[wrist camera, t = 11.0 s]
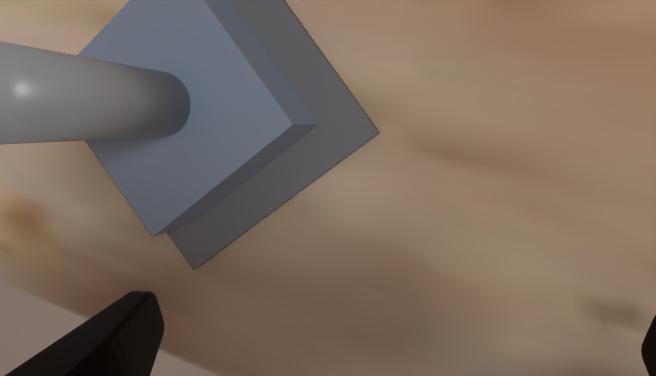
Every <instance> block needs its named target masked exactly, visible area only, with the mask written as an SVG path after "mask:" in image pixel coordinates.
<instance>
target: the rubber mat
mask: <svg viewBox="0 0 656 376" xmlns="http://www.w3.org/2000/svg"><path fill="white" fill-rule="evenodd" d="M231 2H232V3H233V4H234V6H235V7H236V9H237V10H238V11H239V13H240V14H241V16H242V17H243V18H244V20H245V21H246V23H247V24H248V25H249V27H250V28H251V30H252V31H253V32H254V34H255V35H256V36H257V38H258V39H259V41H260V42H261V43H262V45H263V46H264V48H265V49H266V50H267V52H268V53H269V55H270V56H271V57H272V59H273V60H274V62H275V63H276V64H277V66H278V67H279V69H280V70H281V71H282V73H283V74H284V76H285V77H286V78H287V80H288V81H289V83H290V84H291V85H292V87H293V88H294V89H295V91H296V92H297V94H298V95H299V96H300V98H301V99H302V101H303V102H304V103H305V105H306V106H307V108H308V109H309V110H310V112H311V113H312V115H313V116H314V117H315V119H316V120H317V122H318V123H319V125H318V126H316V127H315V128H314V129H313V130H311V131H310V132H309V133H308V134H306V135H305V136H304V137H302V138H301V139H300V140H299V141H297V142H296V143H295V144H294V145H292V146H291V147H290V148H288V149H287V150H286V151H285V152H283V153H282V154H281V155H279V156H278V157H277V158H276V159H274V160H273V161H272V162H271V163H269V164H268V165H267V166H265V167H264V168H263V169H262V170H260V171H259V172H258V173H257V174H255V175H254V176H253V177H251V178H250V179H249V180H248V181H246V182H245V183H244V184H243V185H241V186H240V187H239V188H237V189H236V190H235V191H234V192H232V193H231V194H230V195H229V196H227V197H226V198H225V199H223V200H222V201H221V202H220V203H218V204H217V205H216V206H215V207H213V208H212V209H211V210H209V211H208V212H207V213H206V214H204V215H203V216H202V217H200V218H199V219H197V220H194V221H192V222H189V223H187V224H184V225H182V226H179V227H177V228H174V229H172V230H169V231H167V233H168V235H169V236H170V237H171V239H172V240H173V242H174V243H175V245H176V246H177V247H178V249H179V250H180V252H181V253H182V255H183V256H184V257H185V259H186V260H187V262H188V263H189V265H190V266H191V267H192V269H193V270H194V269H196V268H198V267H199V266H201V265H202V264H203V263H205V262H206V261H207V260H209V259H210V258H211V257H213V256H214V255H215V254H217V253H218V252H219V251H221V250H222V249H223V248H225V247H226V246H228V245H229V244H230V243H232V242H233V241H234V240H236V239H237V238H238V237H240V236H241V235H242V234H244V233H245V232H246V231H248V230H249V229H251V228H252V227H253V226H255V225H256V224H257V223H259V222H260V221H261V220H263V219H264V218H265V217H267V216H268V215H269V214H271V213H272V212H273V211H275V210H276V209H278V208H279V207H280V206H282V205H283V204H284V203H286V202H287V201H288V200H290V199H291V198H292V197H294V196H295V195H296V194H298V193H299V192H301V191H302V190H303V189H305V188H306V187H307V186H309V185H310V184H311V183H313V182H314V181H315V180H317V179H318V178H319V177H321V176H322V175H324V174H325V173H326V172H328V171H329V170H330V169H332V168H333V167H334V166H336V165H337V164H338V163H340V162H341V161H342V160H344V159H345V158H346V157H348V156H349V155H351V154H352V153H353V152H355V151H356V150H357V149H359V148H360V147H361V146H363V145H364V144H365V143H367V142H368V141H369V140H371V139H372V138H374V137H375V136H376V135H378V134H379V133H380V132H379V131H378V129H377V128H376V126H375V125H374V124H373V122H372V121H371V119H370V118H369V117H368V115H367V114H366V112H365V111H364V110H363V108H362V107H361V106H360V104H359V103H358V101H357V100H356V99H355V97H354V96H353V94H352V93H351V92H350V90H349V89H348V87H347V86H346V85H345V83H344V82H343V81H342V79H341V78H340V76H339V75H338V74H337V72H336V71H335V69H334V68H333V67H332V65H331V64H330V63H329V61H328V60H327V58H326V57H325V56H324V54H323V53H322V51H321V50H320V49H319V47H318V46H317V44H316V43H315V42H314V40H313V39H312V38H311V36H310V35H309V33H308V32H307V31H306V29H305V28H304V26H303V25H302V24H301V22H300V21H299V19H298V18H297V17H296V15H295V14H294V13H293V11H292V10H291V8H290V7H289V6H288V4H287V3H286V1H285V0H231Z"/></svg>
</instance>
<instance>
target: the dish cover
mask: <svg viewBox="0 0 656 376" xmlns="http://www.w3.org/2000/svg"><path fill="white" fill-rule="evenodd" d="M318 125H319V123H318V122H317V120H316V119H315V117H314V116H313V115H312V113H311V112H310V110H309V109H308V108H307V106H306V105H305V103H304V102H303V101H302V99H301V98H300V96H299V95H298V94H297V92H296V91H295V89H294V88H293V87H292V85H291V84H290V83H289V81H288V80H287V78H286V77H285V76H284V74H283V73H282V71H281V70H280V69H279V67H278V66H277V64H276V63H275V62H274V60H273V59H272V57H271V56H270V55H269V53H268V52H267V50H266V49H265V48H264V46H263V45H262V43H261V42H260V41H259V39H258V38H257V36H256V35H255V34H254V32H253V31H252V30H251V28H250V27H249V25H248V24H247V23H246V21H245V20H244V18H243V17H242V16H241V14H240V13H239V11H238V10H237V9H236V7H235V6H234V4H233V3H232V2H231V0H130V1H129V2H128V3H127V4H126V5H125V6H124V7H123V8H122V9H121V10H120V11H119V12H118V13H117V14H116V16H115V17H114V18H113V19H112V20H111V21H110V22H109V23H108V24H107V25H106V26H105V27H104V28H103V29H102V30H101V31H100V32H99V33H98V34H97V36H96V37H95V38H94V39H93V40H92V41H91V42H90V43H89V44H88V45H87V46H86V47H85V48H84V49H83V50H82V51H81V52H80V53H79V54H78V56H77V55H71V54H66V53H60V52H55V51H49V50H44V49H39V48H33V47H28V46H22V45H17V44H12V43H6V42H1V41H0V144H20V143H41V142H61V141H82V140H85V141H86V142H87V144H88V145H89V147H90V148H91V150H92V151H93V152H94V154H95V155H96V157H97V158H98V160H99V161H100V162H101V164H102V165H103V167H104V168H105V170H106V171H107V172H108V174H109V175H110V177H111V178H112V180H113V181H114V183H115V184H116V185H117V187H118V188H119V190H120V191H121V193H122V194H123V195H124V197H125V198H126V200H127V201H128V203H129V204H130V205H131V207H132V208H133V210H134V211H135V213H136V214H137V216H138V217H139V218H140V220H141V221H142V223H143V224H144V226H145V227H146V228H147V230H148V231H149V233H150V234H151V236H152V237H154V236H156V235H159V234H162V233H164V232H167V231H169V230H172V229H174V228H177V227H179V226H182V225H184V224H187V223H189V222H192V221H194V220H197V219H199V218H200V217H202V216H203V215H204V214H206V213H207V212H208V211H209V210H211V209H212V208H213V207H215V206H216V205H217V204H218V203H220V202H221V201H222V200H223V199H225V198H226V197H227V196H229V195H230V194H231V193H232V192H234V191H235V190H236V189H237V188H239V187H240V186H241V185H243V184H244V183H245V182H246V181H248V180H249V179H250V178H251V177H253V176H254V175H255V174H257V173H258V172H259V171H260V170H262V169H263V168H264V167H265V166H267V165H268V164H269V163H271V162H272V161H273V160H274V159H276V158H277V157H278V156H279V155H281V154H282V153H283V152H285V151H286V150H287V149H288V148H290V147H291V146H292V145H294V144H295V143H296V142H297V141H299V140H300V139H301V138H302V137H304V136H305V135H306V134H308V133H309V132H310V131H311V130H313V129H314V128H315V127H316V126H318Z"/></svg>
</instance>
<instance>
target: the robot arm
mask: <svg viewBox="0 0 656 376" xmlns="http://www.w3.org/2000/svg"><path fill="white" fill-rule="evenodd" d="M163 333H164V321H163V317H162V314H161V311H160V307H159V304H158V300H157V297H156V295H155V294H154V293H153V292H150V291H132V292H130V293H128V294H126V295H125V296H123V297H122V298H120V299H119V300H117V301H116V302H114V303H113V304H111V305H110V306H108V307H107V308H105V309H104V310H102V311H101V312H99V313H98V314H96V315H95V316H93V317H92V318H90V319H89V320H87V321H86V322H84V323H83V324H81V325H80V326H78V327H77V328H75V329H74V330H72V331H71V332H69V333H68V334H66V335H65V336H63V337H62V338H60V339H59V340H57V341H56V342H54V343H53V344H51V345H50V346H48V347H47V348H46V349H44V350H42V351H41V352H39V353H38V354H36V355H35V356H33V357H32V358H30V359H29V360H27V361H26V362H25V363H23V364H22V365H20V366H18V367H17V368H15V369H14V370H13V371H11V372H10V373H8V374H6V375H5V376H150V373H151V371H152V367H153V364H154V361H155V358H156V355H157V352H158V349H159V346H160V343H161V340H162V337H163ZM641 352H642V358H643V361H644V363H645V366H646V369H647V371H648V374H649V376H656V315H655V316H654V318H653V320H652V323H651V325H650V327H649V329H648V332H647V334H646V336H645V338H644V341H643V343H642V348H641Z"/></svg>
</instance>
